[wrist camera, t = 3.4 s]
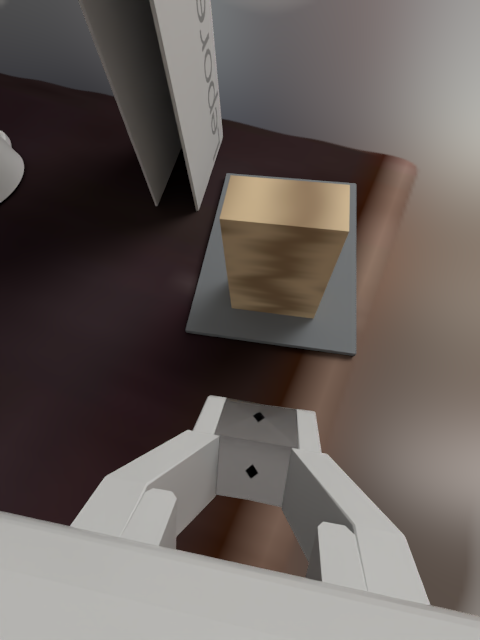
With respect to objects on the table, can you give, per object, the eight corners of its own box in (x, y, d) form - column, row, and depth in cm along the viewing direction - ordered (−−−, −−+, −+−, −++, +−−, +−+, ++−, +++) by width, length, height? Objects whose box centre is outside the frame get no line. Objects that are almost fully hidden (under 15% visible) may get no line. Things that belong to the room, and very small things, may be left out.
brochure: (198, 211, 36) (43, -512, 10) (155, 206, 37) (-106, -485, 10) (223, 136, 42) (170, -438, 15) (185, 133, 43) (71, -423, 16)
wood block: (231, 308, 30) (219, 218, 19) (238, 274, 32) (230, 175, 21) (313, 318, 29) (349, 231, 18) (315, 283, 31) (349, 184, 20)
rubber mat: (186, 332, 30) (185, 330, 29) (227, 177, 39) (226, 173, 38) (354, 355, 28) (356, 353, 27) (354, 187, 37) (356, 183, 37)
